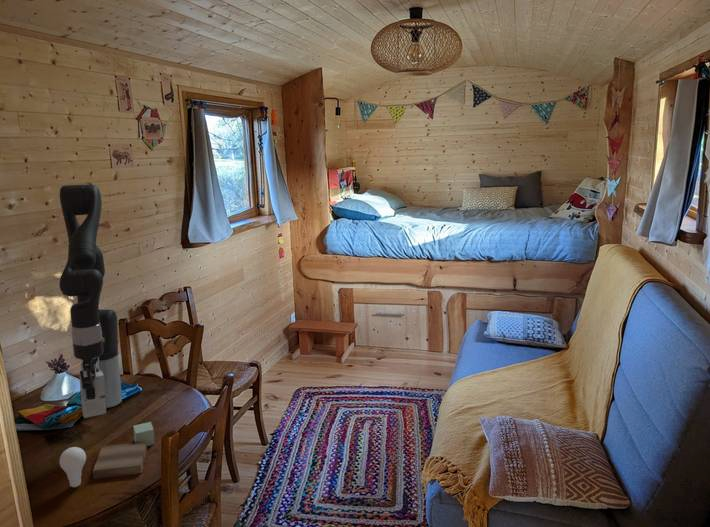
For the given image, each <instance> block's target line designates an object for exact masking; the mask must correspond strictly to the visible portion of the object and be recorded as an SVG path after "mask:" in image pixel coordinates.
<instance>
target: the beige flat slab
mask: <svg viewBox="0 0 710 527" xmlns="http://www.w3.org/2000/svg"><path fill="white" fill-rule="evenodd" d="M147 451H148V446H147V442H138V443H135V442H131V443H130V442H129V443H119V444H110V445H102V446H101V447H100V451H99V454H98V456H97V458H96V461H95V464H94V466H93V470H92V474H93V476H92V478H93V480H98V479H106V478H114V477H123V475H124V476H130V475H131V476H133V475H140V474H139V473H141V472H143V467H144V464H143V463H145V460H144V459H146V456H147ZM145 455H146V456H145ZM141 474H142V473H141Z"/></svg>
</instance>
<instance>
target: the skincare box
mask: <svg viewBox="0 0 710 527" xmlns="http://www.w3.org/2000/svg"><path fill="white" fill-rule="evenodd" d="M91 376H93V374H91ZM87 383H90V382H87ZM94 384H95V399H90V400H88V399H87V398H86V389H83V388H82V381H81V376H80V373H79V385H80V386H79V387H80V388H79V389H80V399H81V410H82V411H81V412H82V416H83V418H84V419H87V418H92V417H96V416H97V417H98V416H100V415H105V414H107V408H106V401H105V387H104V375H103V373H102V370H99V371H96V378H95V379H94Z"/></svg>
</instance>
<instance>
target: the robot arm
mask: <svg viewBox="0 0 710 527" xmlns="http://www.w3.org/2000/svg"><path fill="white" fill-rule="evenodd" d="M101 194H102V193H101V190H100V189H99V187H98V186H97V185H95V184H65V185H62V186H61V187H60V189H59V203H60V208H61V211H62V212H61V213H62V215H63V220H64V225H65V229H66V233H67V239H68V240H67V241H68V252H67V253H68V254H67V261H66V264H65V266H64V269H63V271H62V273H61V276H60V278H59V284H58V285H59V290H60V291H61V293H62V294H64V296H67V297H76V298H77V302H76V303H74V304H72V305H71V307H70V311H69V312H70V319H71V320H70V321H71V338H72V339H71V340H72V351H73V356H74V358H76V359H77V360H82V362H81V363H80V369H81V370H80V372H79V374H80V376H81V381H82V388H83V389H86V398H87V399H88V400H90V399H95V384H94V379H95V378H96V371H99V370H102V373H103V375H104V387H105V401H106V409H108V408H113V407H116V406H117V405H119V404H120V403H122V401H123V398H122V384H121V373H120V370H121V369H120V362H119V361H120V360H119V359H120V358H119V339H118V337H119V336H118V335H119V333H118V316H117V313H116V311H115V310H114V309H99V308H100V300H101V299H100V297H101V293H102V290H103V289H102V288H103V285H104V277H105V274H106V268H105V262H104V260H105V259H104V254H103V252H102V250H101V249H100V247H99V246H98V245H97V238H98V237H97V236H98V231H99V226H100V219H101V215H102V214H101V213H102V206H103V205H102V196H101ZM77 216H86V218H85V219H84V220H83V222H81V224H80V222H79V221H78V218H77ZM103 339H104V341H103ZM91 374H93V376H91ZM87 382H90V383H87Z"/></svg>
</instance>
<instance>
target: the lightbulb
mask: <svg viewBox="0 0 710 527" xmlns="http://www.w3.org/2000/svg"><path fill="white" fill-rule="evenodd" d="M86 461H87V455H86V452H85V450H84V449H83V448H81V447H78V446H73V447H68V448H67V449H65V450H64V451H63V452H62V453H61V455H60V457H59V461H58V462H59V466H60V468H61V470H63V471H64V472H65V474H66V476H67V479H68V481H69V486H70V487H71V488H78V487H79V486H80V485H81V484H82V478H81V477H82V470H83V467H84V466H85V464H86Z"/></svg>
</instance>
